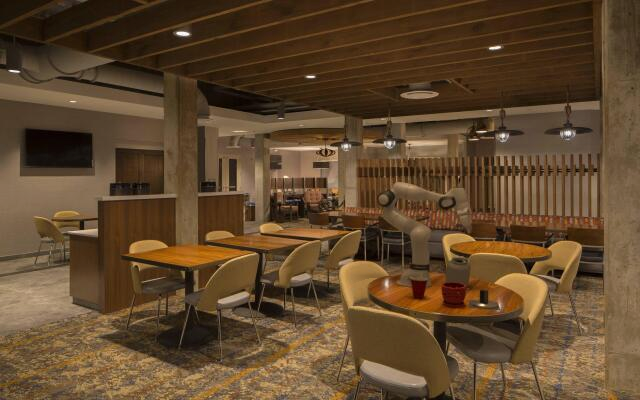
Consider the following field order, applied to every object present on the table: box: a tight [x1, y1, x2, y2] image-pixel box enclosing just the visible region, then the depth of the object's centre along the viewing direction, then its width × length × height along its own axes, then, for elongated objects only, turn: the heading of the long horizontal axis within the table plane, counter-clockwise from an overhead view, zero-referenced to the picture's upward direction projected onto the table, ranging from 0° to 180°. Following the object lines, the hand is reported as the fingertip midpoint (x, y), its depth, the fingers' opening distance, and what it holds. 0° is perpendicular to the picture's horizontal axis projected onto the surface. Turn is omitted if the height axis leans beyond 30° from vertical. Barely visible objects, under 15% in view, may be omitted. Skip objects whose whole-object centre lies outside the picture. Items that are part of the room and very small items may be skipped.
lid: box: [471, 288, 497, 310], centre depth 253 cm, size 14×14×8 cm
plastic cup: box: [410, 277, 428, 300], centre depth 269 cm, size 11×11×12 cm
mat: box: [467, 299, 502, 311], centre depth 253 cm, size 16×16×1 cm
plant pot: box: [441, 282, 467, 308], centre depth 253 cm, size 13×13×12 cm
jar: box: [444, 257, 472, 288], centre depth 294 cm, size 19×15×25 cm
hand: (470, 231), depth 288 cm, fingers open, 8 cm apart
